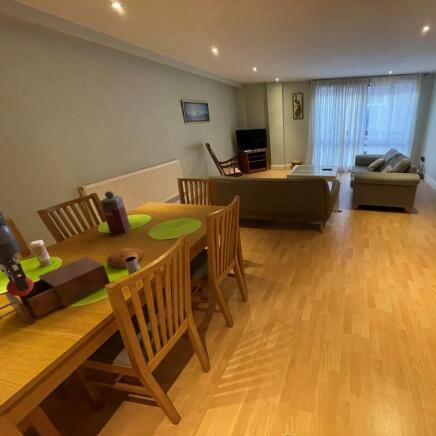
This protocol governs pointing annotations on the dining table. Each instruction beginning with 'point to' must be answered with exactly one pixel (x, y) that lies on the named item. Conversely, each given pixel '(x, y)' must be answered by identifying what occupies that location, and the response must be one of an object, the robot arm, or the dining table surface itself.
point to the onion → (14, 290)
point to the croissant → (123, 257)
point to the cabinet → (76, 280)
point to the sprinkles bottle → (41, 253)
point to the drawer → (34, 301)
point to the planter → (131, 265)
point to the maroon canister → (115, 213)
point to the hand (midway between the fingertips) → (20, 286)
